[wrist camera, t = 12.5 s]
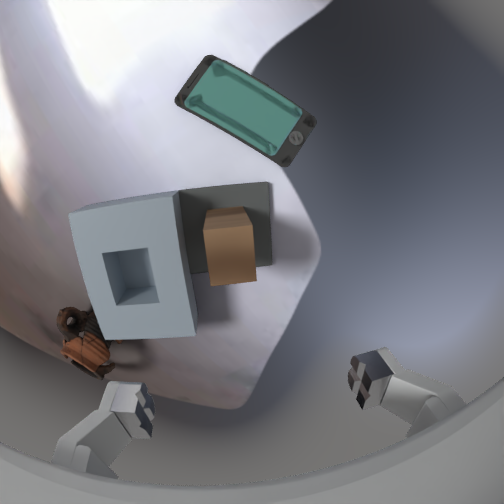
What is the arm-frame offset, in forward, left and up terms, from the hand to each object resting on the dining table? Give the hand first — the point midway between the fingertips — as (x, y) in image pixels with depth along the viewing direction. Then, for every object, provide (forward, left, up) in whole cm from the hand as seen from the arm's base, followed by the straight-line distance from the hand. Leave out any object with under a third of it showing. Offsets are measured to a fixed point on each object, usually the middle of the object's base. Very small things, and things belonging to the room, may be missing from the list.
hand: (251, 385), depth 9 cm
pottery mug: (+13, -21, -24) cm, 35 cm away
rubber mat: (0, 0, -24) cm, 24 cm away
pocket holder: (+3, -11, -24) cm, 26 cm away
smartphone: (-14, +3, -24) cm, 28 cm away
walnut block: (0, 0, -23) cm, 23 cm away
